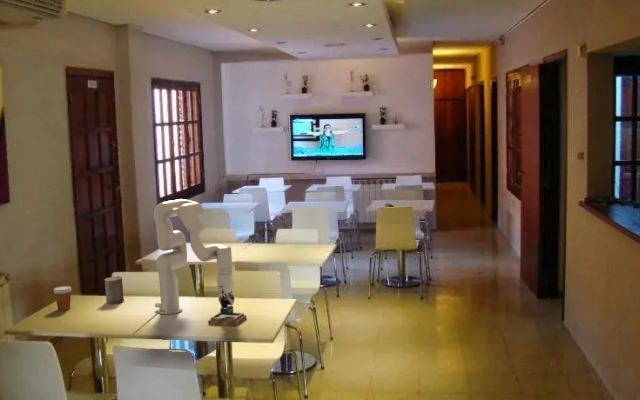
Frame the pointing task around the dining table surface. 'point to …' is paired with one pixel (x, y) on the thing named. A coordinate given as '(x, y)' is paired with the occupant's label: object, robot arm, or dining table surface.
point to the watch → (230, 308)
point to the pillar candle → (114, 290)
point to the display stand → (227, 319)
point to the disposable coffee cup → (63, 297)
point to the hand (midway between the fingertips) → (226, 305)
